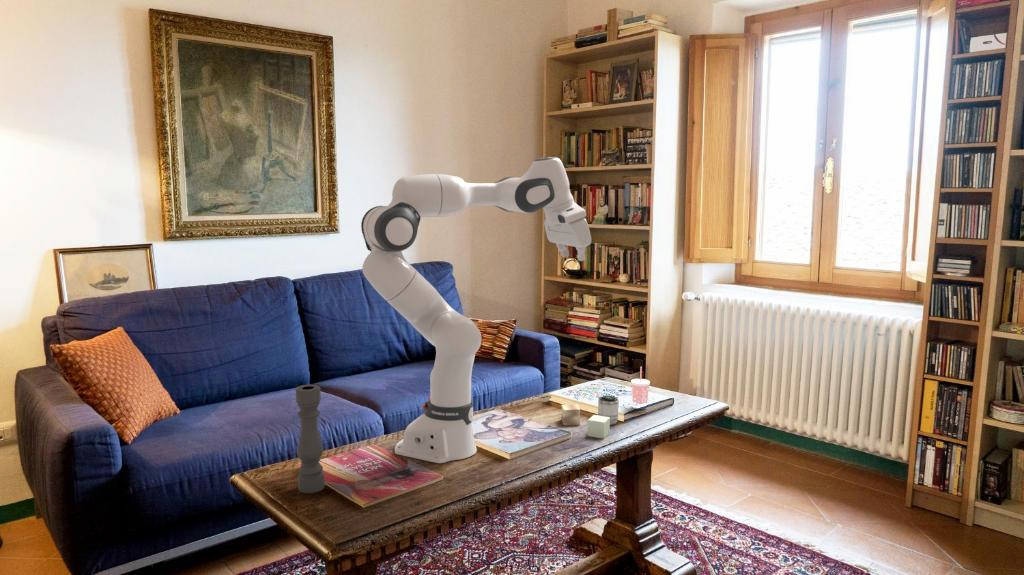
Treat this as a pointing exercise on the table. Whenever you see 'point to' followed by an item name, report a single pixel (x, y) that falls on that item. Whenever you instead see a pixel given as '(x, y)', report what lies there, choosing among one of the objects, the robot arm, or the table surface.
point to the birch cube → (570, 414)
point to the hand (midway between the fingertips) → (573, 258)
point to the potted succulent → (608, 408)
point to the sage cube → (598, 426)
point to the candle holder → (309, 440)
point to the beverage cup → (640, 389)
